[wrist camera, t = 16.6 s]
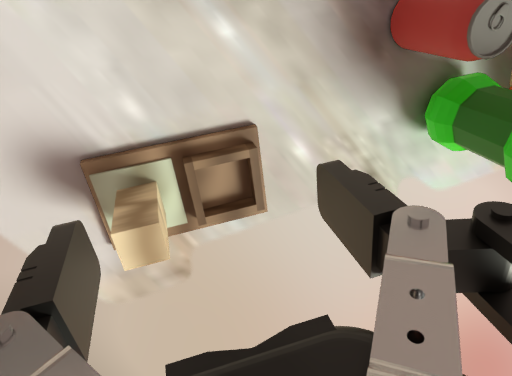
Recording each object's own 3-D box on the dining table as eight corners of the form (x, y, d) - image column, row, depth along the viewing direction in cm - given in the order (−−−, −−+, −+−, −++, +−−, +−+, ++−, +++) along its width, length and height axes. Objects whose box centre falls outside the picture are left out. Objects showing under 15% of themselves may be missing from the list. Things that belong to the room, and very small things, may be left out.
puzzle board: (114, 245, 46) (113, 260, 44) (81, 160, 40) (77, 171, 38) (265, 207, 50) (271, 219, 47) (254, 124, 44) (261, 132, 41)
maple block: (128, 222, 44) (124, 271, 36) (116, 190, 42) (110, 234, 34) (165, 213, 44) (170, 258, 37) (156, 181, 42) (158, 222, 35)
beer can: (446, -2, 43) (541, 0, 33) (420, 55, 45) (500, 73, 35) (403, -22, 40) (491, -28, 30) (378, 39, 43) (451, 53, 33)
